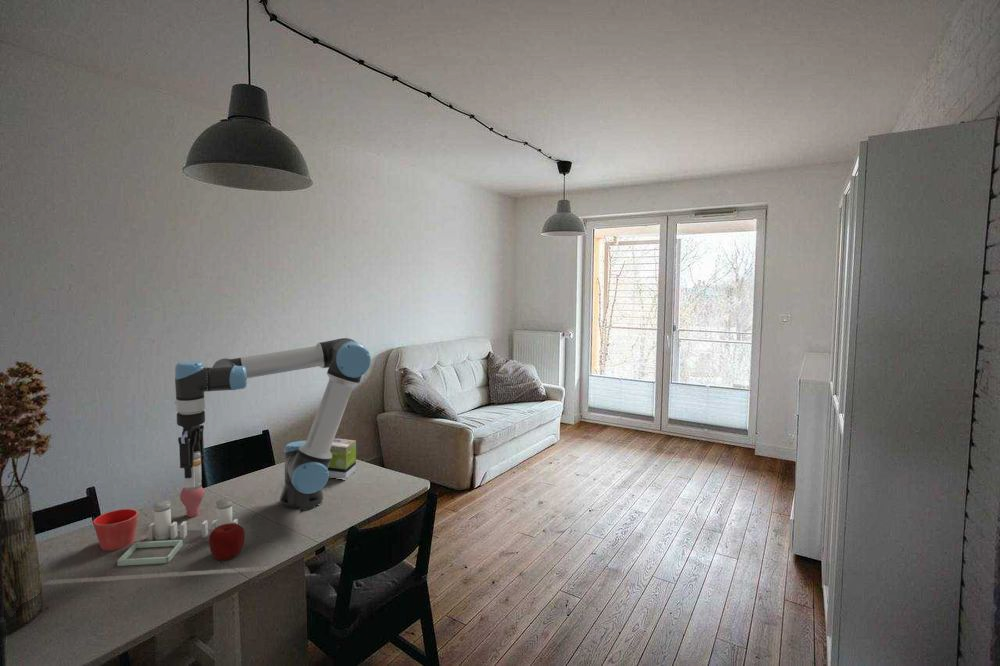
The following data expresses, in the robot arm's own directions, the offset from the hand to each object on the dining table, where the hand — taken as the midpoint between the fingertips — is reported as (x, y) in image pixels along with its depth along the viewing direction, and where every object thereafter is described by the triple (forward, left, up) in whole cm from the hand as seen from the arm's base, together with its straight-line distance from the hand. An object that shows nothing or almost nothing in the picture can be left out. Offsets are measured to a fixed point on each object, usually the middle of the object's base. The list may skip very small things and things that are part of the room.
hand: (193, 483), depth 161 cm
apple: (-14, +12, -19) cm, 26 cm away
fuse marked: (0, 0, -1) cm, 1 cm away
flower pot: (+21, +2, -19) cm, 28 cm away
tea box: (-37, -50, -19) cm, 64 cm away
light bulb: (+6, -15, -19) cm, 25 cm away
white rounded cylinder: (-9, 0, -17) cm, 20 cm away
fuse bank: (0, 0, -18) cm, 18 cm away
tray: (+8, +10, -18) cm, 22 cm away
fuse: (+9, 0, -17) cm, 20 cm away
